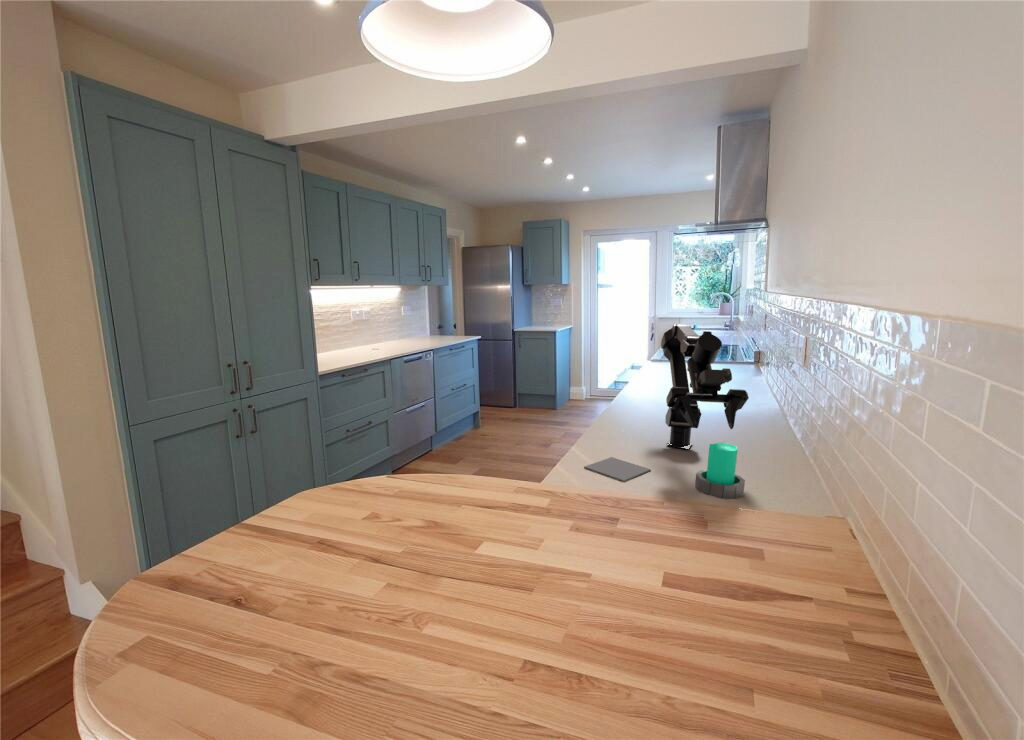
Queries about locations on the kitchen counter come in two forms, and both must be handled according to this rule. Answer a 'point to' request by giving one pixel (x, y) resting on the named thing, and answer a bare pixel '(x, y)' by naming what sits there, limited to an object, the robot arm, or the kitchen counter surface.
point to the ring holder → (719, 486)
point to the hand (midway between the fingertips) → (712, 427)
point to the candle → (721, 463)
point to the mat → (617, 469)
